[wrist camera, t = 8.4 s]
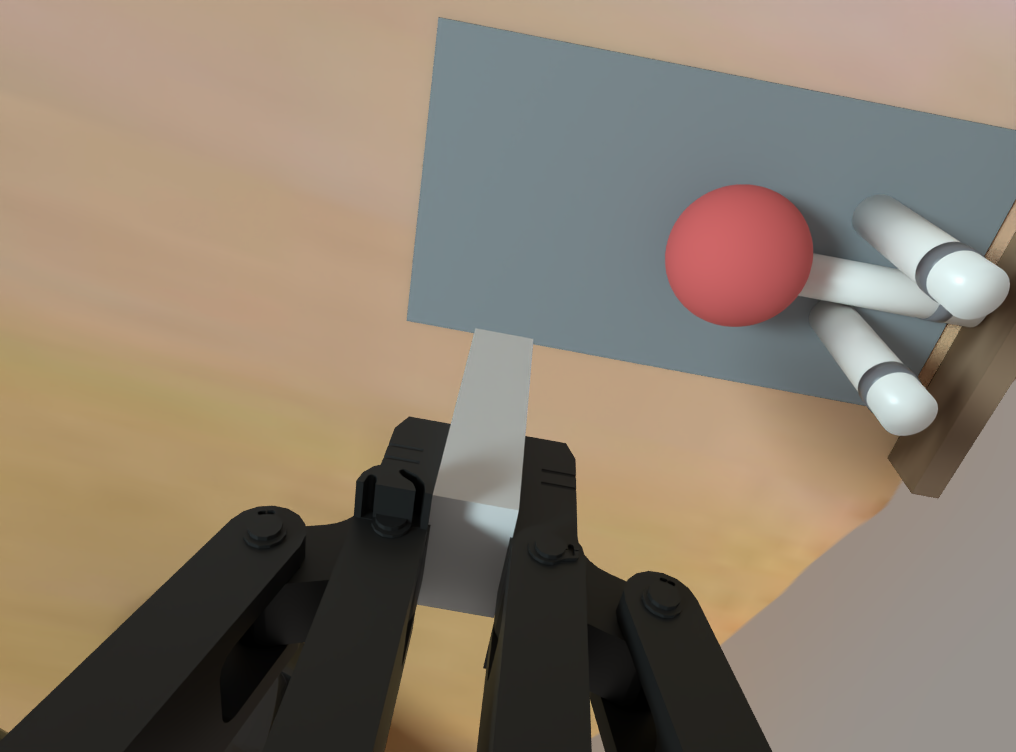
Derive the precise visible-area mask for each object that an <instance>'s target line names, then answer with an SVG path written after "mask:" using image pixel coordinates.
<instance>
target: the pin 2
mask: <svg viewBox="0 0 1016 752" xmlns="http://www.w3.org/2000/svg"><path fill="white" fill-rule="evenodd" d="M809 323H810V325H811V327H812V329H813V330H814V331H815V333H816V334H817V335H818V337H819V338H820V340H821V341H822V342H823V344H824V345H825V347H826V348H827V349H828V351H829V352H830V354H831V355H832V356H833V358H834V359H835V361H836V362H837V363H838V365H839V366H840V368H841V369H842V370H843V372H844V373H845V374H846V376H847V377H848V379H849V380H850V381H851V383H852V384H853V386H854V387H855V388H856V390H857V391H858V394H859V396H860V398H861V399H862V400H863V402H864V403H865V405H866V406H867V407H868V409H869V410H870V411H871V412H872V413H874V415H875V416H876V418H877V419H878V420H879V422H880V423H881V425H882V426H883V427H884V429H885V430H886V431H888V432H889V433H891V434H894V435H899V436H907V435H912V434H916V433H918V432H920V431H922V430H924V429H925V428H927V427H928V426H929V425H930V424H931V423H932V422H933V421H934V419H935V417H936V415H937V412H938V405H937V402H936V400H935V399H934V398H933V396H932V395H931V394H930V393H929V392H928V391H927V390H926V389H925V387H924V386H923V385H922V384H921V382H920V380H919V379H918V377H917V376H916V375H915V374H914V373H913V372H912V371H911V370H910V369H909V367H907V366H906V365H904V364H903V363H902V362H901V361H900V359H899V358H898V357H897V356H896V355H895V354H894V353H893V352H892V350H891V349H890V348H889V347H888V346H887V345H886V344H885V343H884V341H883V340H882V339H881V338H880V337H879V336H878V335H877V334H876V332H875V331H874V330H873V329H872V328H871V327H870V326H869V325H868V323H867V322H866V321H865V320H864V319H863V318H862V317H861V316H860V315H859V313H858V312H857V311H856V310H855V309H854V308H853V307H852V306H851V305H846V304H841V303H835V302H830V301H824V300H821V301H819V302H818V303H817V304H816V305H815V306H814V307H813V308H812V310H811V312H810V315H809Z"/></svg>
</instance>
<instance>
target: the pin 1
mask: <svg viewBox="0 0 1016 752" xmlns="http://www.w3.org/2000/svg"><path fill="white" fill-rule="evenodd" d="M852 226H853V229H854V230H855V232H856V233H857V234H858V235H860V236H861V237H862V238H863V239H864V240H866V241H867V242H868V243H869V244H870V245H871V246H873V247H874V248H875V249H876V250H877V251H878V252H880V253H881V254H882V255H883V256H884V257H885V258H887V259H888V260H889V261H890V262H891V263H892V264H894V265H895V266H896V267H897V268H898V269H899V270H901V271H902V272H903V273H904V274H905V275H907V276H908V277H909V278H910V279H911V280H912V281H914V282H915V283H916V284H917V285H918V287H919V288H920V289H921V290H922V291H923V292H924V293H925V294H926V295H928V296H929V297H930V298H931V299H932V300H934V301H935V302H938V303H939V304H940V305H942V306H943V307H944V308H945V309H946V310H948V311H949V312H950V313H951V314H952V315H954V316H955V317H958V318H961V319H977V318H980V317H983V316H986V315H988V314H990V313H991V312H993V311H994V310H995V309H997V308H998V307H999V306H1000V305H1001V304H1002V303H1003V301H1004V300H1005V298H1006V297H1007V295H1008V292H1009V288H1010V281H1009V277H1008V275H1007V274H1006V272H1005V271H1004V270H1003V269H1001V268H999V267H998V266H996V265H995V264H993V263H992V262H990V261H989V260H987V259H986V258H985V257H984V256H983V255H982V254H981V253H979V252H978V251H976V250H975V249H973V248H972V247H970V246H969V245H967V244H965V243H962V242H960V241H958V240H957V239H955V238H953V237H952V236H950V235H949V234H947V233H946V232H944V231H943V230H941V229H940V228H938V227H937V226H935V225H934V224H932V223H930V222H929V221H927V220H926V219H924V218H923V217H921V216H920V215H918V214H917V213H915V212H914V211H912V210H911V209H909V208H908V207H906V206H904V205H903V204H901V203H900V202H898V201H897V200H895V199H894V198H892V197H891V196H888V195H884V194H878V195H873V196H870V197H868V198H866V199H865V200H863V201H862V202H861V203H860V204H859V205H858V206H857V208H856V209H855V211H854V213H853V216H852Z"/></svg>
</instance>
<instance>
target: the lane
mask: <svg viewBox="0 0 1016 752" xmlns="http://www.w3.org/2000/svg"><path fill="white" fill-rule="evenodd" d="M736 184H750V185H756V186H761V187H765V188H768V189H771V190H773V191H775V192H777V193H779V194H781V195H782V196H784V197H785V198H787V199H788V200H789V201H790V202H791V203H793V204H794V205H795V207H796V208H797V209H798V210H799V211H800V212H801V214H802V215H803V217H804V219H805V221H806V223H807V225H808V227H809V230H810V233H811V237H812V242H813V253H815V254H820V255H825V256H831V257H836V258H841V259H847V260H852V261H858V262H863V263H868V264H874V265H879V266H884V267H890V268H895V269H898V268H897V267H896V266H895V265H894V264H892V263H891V262H890V261H889V260H888V259H887V258H885V257H884V256H883V255H882V254H881V253H880V252H878V251H877V250H876V249H875V248H874V247H873V246H871V245H870V244H869V243H868V242H867V241H866V240H864V239H863V238H862V237H861V236H860V235H858V234H857V233H856V232H855V230H854V229H853V226H852V216H853V213H854V211H855V209H856V208H857V206H858V205H859V204H860V203H861V202H862V201H863V200H865V199H866V198H868V197H870V196H873V195H878V194H884V195H888V196H891V197H892V198H894V199H895V200H897V201H898V202H900V203H901V204H903V205H904V206H906V207H908V208H909V209H911V210H912V211H914V212H915V213H917V214H918V215H920V216H921V217H923V218H924V219H926V220H927V221H929V222H930V223H932V224H934V225H935V226H937V227H938V228H940V229H941V230H943V231H944V232H946V233H947V234H949V235H950V236H952V237H953V238H955V239H957V240H958V241H960V242H962V243H965V244H967V245H969V246H970V247H972V248H973V249H975V250H976V251H978V252H979V253H981V254H982V255H983V256H985V254H986V252H987V250H988V248H989V246H990V245H991V243H992V241H993V239H994V237H995V236H996V234H997V232H998V230H999V228H1000V227H1001V225H1002V223H1003V221H1004V219H1005V217H1006V216H1007V214H1008V212H1009V210H1010V208H1011V207H1012V205H1013V203H1014V201H1015V199H1016V130H1012V129H1007V128H1002V127H997V126H992V125H987V124H982V123H976V122H971V121H966V120H961V119H956V118H951V117H946V116H941V115H936V114H930V113H925V112H920V111H915V110H910V109H905V108H900V107H895V106H890V105H885V104H879V103H874V102H869V101H864V100H859V99H854V98H849V97H844V96H839V95H833V94H828V93H823V92H818V91H813V90H808V89H803V88H798V87H793V86H787V85H782V84H777V83H772V82H767V81H762V80H757V79H752V78H747V77H741V76H736V75H731V74H726V73H721V72H716V71H711V70H706V69H701V68H696V67H690V66H685V65H680V64H675V63H670V62H665V61H660V60H655V59H650V58H644V57H639V56H634V55H629V54H624V53H619V52H614V51H609V50H604V49H598V48H593V47H588V46H583V45H578V44H573V43H568V42H563V41H558V40H552V39H547V38H542V37H537V36H532V35H527V34H522V33H517V32H512V31H507V30H501V29H496V28H491V27H486V26H481V25H476V24H471V23H466V22H461V21H455V20H450V19H445V18H440V17H439V18H438V28H437V37H436V47H435V56H434V66H433V75H432V85H431V94H430V104H429V113H428V123H427V133H426V142H425V152H424V161H423V171H422V180H421V190H420V199H419V209H418V218H417V228H416V237H415V247H414V256H413V266H412V275H411V285H410V294H409V304H408V313H407V321H411V322H417V323H422V324H428V325H433V326H438V327H444V328H449V329H455V330H460V331H465V332H471V333H474V332H475V328H477V329H482V330H488V331H493V332H498V333H504V334H509V335H515V336H520V337H525V338H531V339H533V344H535V345H541V346H546V347H551V348H557V349H562V350H567V351H573V352H578V353H584V354H589V355H594V356H600V357H605V358H610V359H616V360H621V361H627V362H632V363H637V364H643V365H648V366H654V367H659V368H664V369H670V370H675V371H680V372H686V373H691V374H697V375H702V376H707V377H713V378H718V379H723V380H729V381H734V382H740V383H745V384H750V385H756V386H761V387H766V388H772V389H777V390H783V391H788V392H793V393H799V394H804V395H810V396H815V397H820V398H826V399H831V400H836V401H842V402H847V403H853V404H858V405H863V406H866V405H865V403H864V402H863V400H862V399H861V398H860V396H859V394H858V391H857V390H856V388H855V387H854V386H853V384H852V383H851V381H850V380H849V379H848V377H847V376H846V374H845V373H844V372H843V370H842V369H841V368H840V366H839V365H838V363H837V362H836V361H835V359H834V358H833V356H832V355H831V354H830V352H829V351H828V349H827V348H826V347H825V345H824V344H823V342H822V341H821V340H820V338H819V337H818V335H817V334H816V333H815V331H814V330H813V329H812V327H811V325H810V323H809V315H810V312H811V310H812V308H813V307H814V306H815V305H816V304H817V303H818V302H819V301H821V300H819V299H814V298H808V297H803V296H797V298H796V299H795V300H794V301H793V302H792V303H791V304H790V305H789V306H788V307H787V308H786V309H784V310H783V311H782V312H780V313H779V314H777V315H776V316H774V317H772V318H770V319H768V320H766V321H763V322H761V323H758V324H754V325H750V326H742V327H729V326H721V325H716V324H713V323H710V322H707V321H705V320H703V319H701V318H699V317H697V316H696V315H694V314H693V313H691V312H690V311H689V310H688V309H687V308H685V307H684V306H683V304H682V303H681V302H680V301H679V300H678V298H677V297H676V296H675V294H674V292H673V290H672V288H671V286H670V284H669V281H668V277H667V274H666V268H665V251H666V245H667V241H668V238H669V235H670V232H671V230H672V228H673V226H674V224H675V222H676V221H677V219H678V218H679V216H680V215H681V214H682V213H683V211H684V210H685V209H686V208H687V207H688V206H689V205H690V204H692V203H693V202H694V201H695V200H697V199H698V198H700V197H701V196H703V195H705V194H706V193H708V192H710V191H713V190H715V189H718V188H721V187H725V186H729V185H736ZM852 307H853V308H854V309H855V310H856V311H857V312H858V313H859V315H860V316H861V317H862V318H863V319H864V320H865V321H866V322H867V323H868V325H869V326H870V327H871V328H872V329H873V330H874V331H875V332H876V334H877V335H878V336H879V337H880V338H881V339H882V340H883V341H884V343H885V344H886V345H887V346H888V347H889V348H890V349H891V350H892V352H893V353H894V354H895V355H896V356H897V357H898V358H899V359H900V361H901V362H902V363H903V364H904V365H906V366H907V367H909V369H910V370H911V371H912V372H913V373H914V374H915V375H916V376H917V377H918V375H919V373H920V371H921V370H922V368H923V366H924V364H925V362H926V361H927V359H928V357H929V355H930V353H931V352H932V350H933V348H934V346H935V344H936V343H937V341H938V339H939V337H940V335H941V333H942V332H943V330H944V328H945V326H946V324H947V323H937V322H931V321H926V320H921V319H919V318H916V317H910V316H905V315H900V314H894V313H889V312H884V311H878V310H873V309H867V308H862V307H857V306H852Z"/></svg>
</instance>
